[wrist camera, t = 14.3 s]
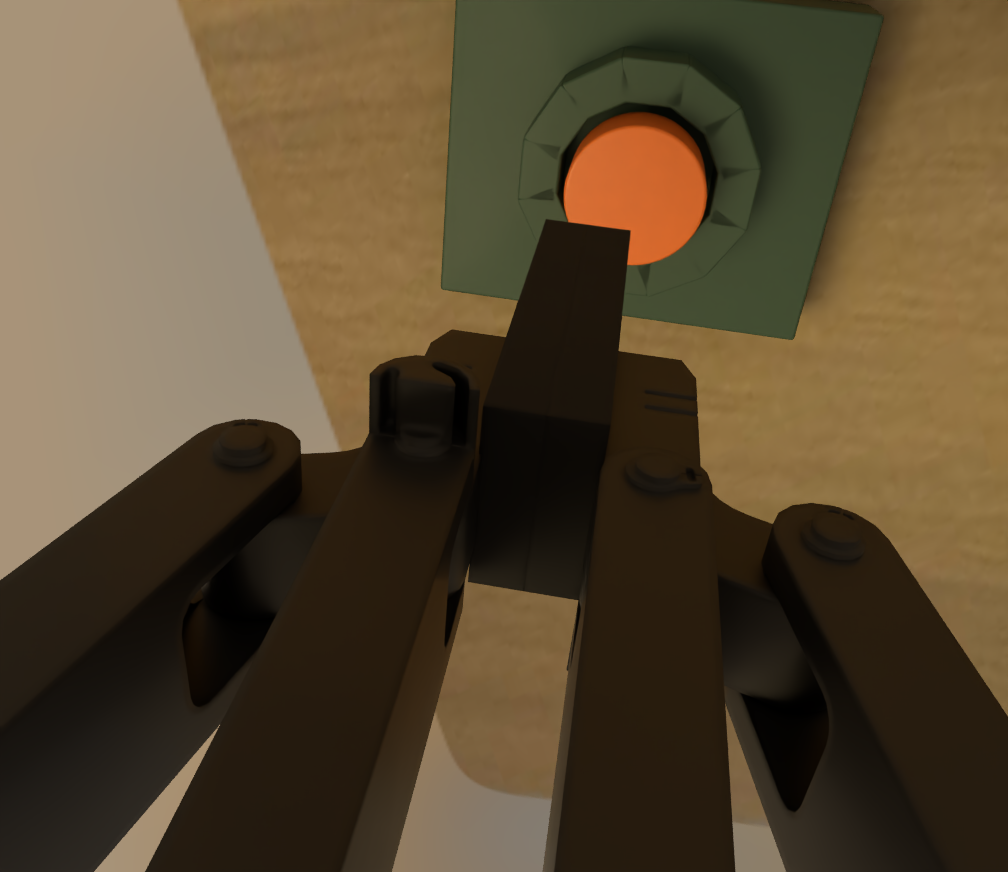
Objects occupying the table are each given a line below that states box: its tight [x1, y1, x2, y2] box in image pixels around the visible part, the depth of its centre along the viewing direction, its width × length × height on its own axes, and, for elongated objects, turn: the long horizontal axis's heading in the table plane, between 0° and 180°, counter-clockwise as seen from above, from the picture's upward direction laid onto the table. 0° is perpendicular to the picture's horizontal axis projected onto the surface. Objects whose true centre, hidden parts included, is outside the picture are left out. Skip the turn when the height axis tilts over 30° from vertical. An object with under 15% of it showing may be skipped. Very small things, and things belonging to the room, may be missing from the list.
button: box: [564, 112, 707, 265], centre depth 27 cm, size 4×4×2 cm
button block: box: [441, 0, 884, 340], centre depth 29 cm, size 12×10×4 cm
